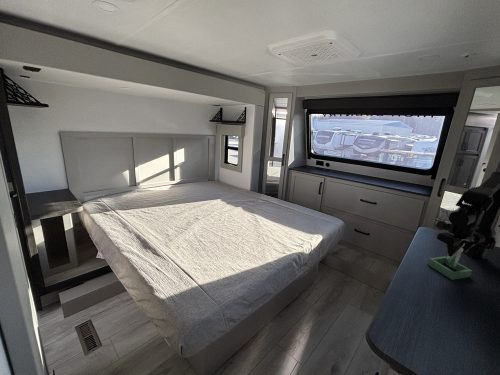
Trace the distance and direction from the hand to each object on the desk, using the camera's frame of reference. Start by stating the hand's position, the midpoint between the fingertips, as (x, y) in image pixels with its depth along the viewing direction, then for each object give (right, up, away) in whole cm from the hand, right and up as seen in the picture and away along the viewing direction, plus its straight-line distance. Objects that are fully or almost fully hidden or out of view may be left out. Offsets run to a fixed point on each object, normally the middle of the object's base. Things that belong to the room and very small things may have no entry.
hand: (453, 255), depth 91 cm
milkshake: (+1, -4, +1) cm, 5 cm away
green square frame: (-1, -7, +2) cm, 7 cm away
